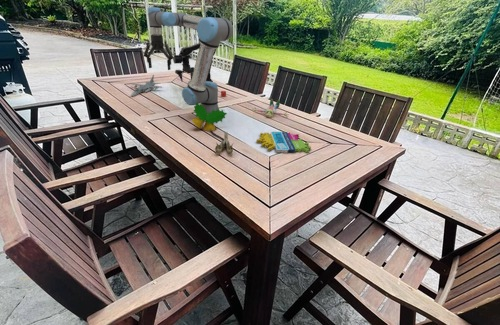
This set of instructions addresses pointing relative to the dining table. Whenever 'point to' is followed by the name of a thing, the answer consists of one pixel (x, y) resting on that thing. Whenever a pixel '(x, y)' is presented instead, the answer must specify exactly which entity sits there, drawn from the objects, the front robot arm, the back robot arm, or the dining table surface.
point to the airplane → (145, 87)
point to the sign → (283, 142)
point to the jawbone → (224, 145)
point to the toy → (271, 109)
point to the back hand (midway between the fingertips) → (186, 81)
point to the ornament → (207, 117)
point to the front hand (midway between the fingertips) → (159, 68)
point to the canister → (223, 93)
